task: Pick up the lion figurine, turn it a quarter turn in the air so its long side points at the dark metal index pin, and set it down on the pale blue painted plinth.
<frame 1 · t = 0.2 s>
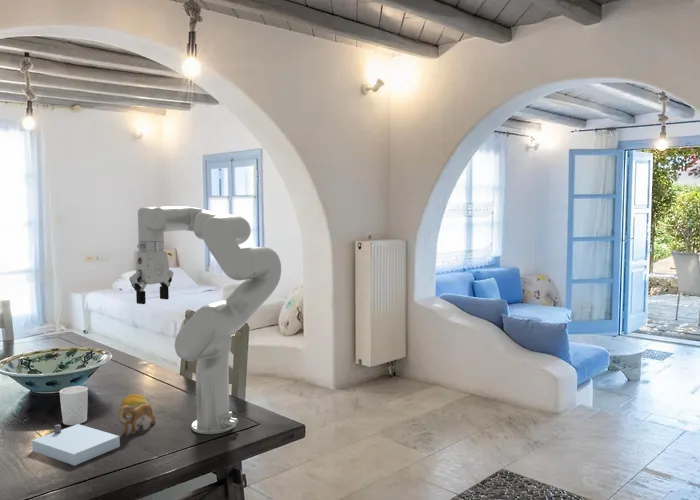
hand: (152, 301, 193), 36 cm above the table, tool pointing down, fingers open, 9 cm apart
plinth: (76, 448, 169), on the table
white cup: (75, 422, 189), on the table
lion figurine: (137, 430, 183), on the table
bread roll: (133, 408, 202), on the table
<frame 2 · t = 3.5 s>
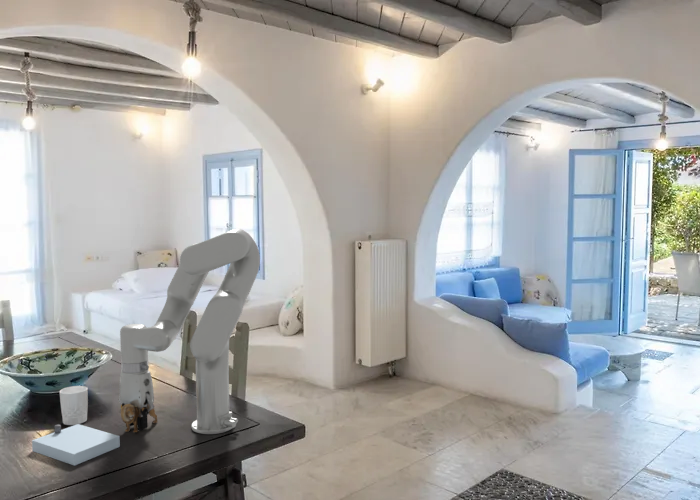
hand: (136, 426, 182), 1 cm above the table, tool pointing down, fingers closed on lion figurine, 4 cm apart
lion figurine: (139, 429, 183), on the table, touching gripper
everything else where it was.
when the fingers open (5 cm above the table, at t = 9.4 s): lion figurine drops 1 cm, resting on plinth.
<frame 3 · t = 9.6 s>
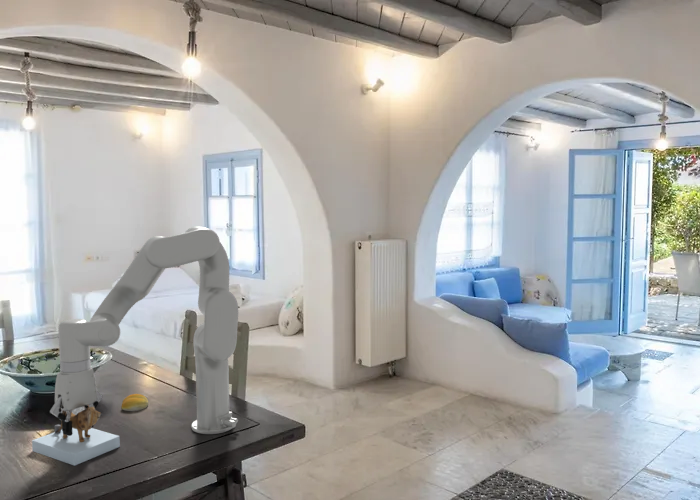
hand: (78, 430, 168), 5 cm above the table, tool pointing down, fingers open, 5 cm apart
lion figurine: (79, 437, 169), point 3 cm above the table, touching gripper, plinth
everything else where it was.
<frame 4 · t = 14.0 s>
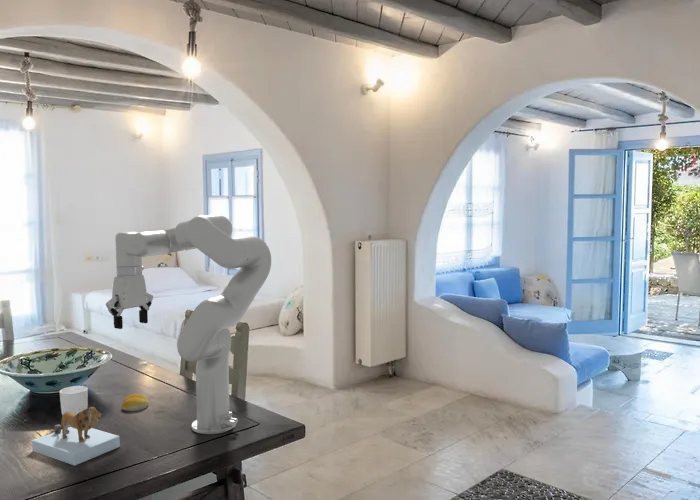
hand: (131, 325, 194), 28 cm above the table, tool pointing down, fingers open, 9 cm apart
lion figurine: (78, 437, 169), point 3 cm above the table, touching plinth
everything else where it was.
at the end: lion figurine inside the target area on the plinth (0.8 cm from its centre), point 2.8 cm above the plinth's base; lion figurine tilted 0°; the gripper is holding nothing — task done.
